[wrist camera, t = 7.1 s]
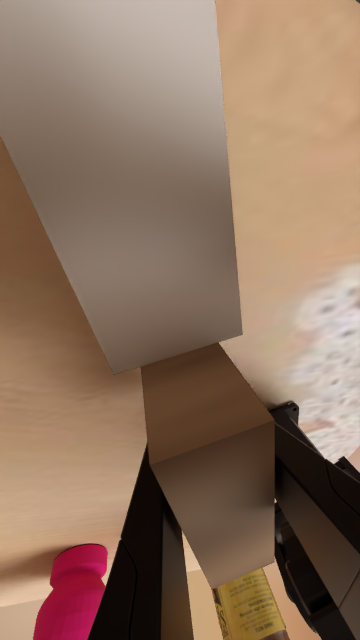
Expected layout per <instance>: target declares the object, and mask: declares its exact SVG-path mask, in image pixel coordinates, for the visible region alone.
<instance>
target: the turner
mask: <svg viewBox="0 0 360 640" xmlns="http://www.w3.org/2000/svg"><path fill="white" fill-rule="evenodd" d="M0 136H1V139H2V141H3V143H4V145H5V147H6V149H7V151H8V153H9V155H10V158H11V160H12V162H13V164H14V166H15V168H16V170H17V172H18V174H19V177H20V179H21V181H22V183H23V185H24V187H25V189H26V191H27V193H28V196H29V198H30V200H31V202H32V204H33V206H34V208H35V210H36V212H37V215H38V217H39V219H40V221H41V223H42V225H43V227H44V229H45V231H46V234H47V236H48V238H49V240H50V242H51V244H52V246H53V248H54V250H55V253H56V255H57V257H58V259H59V261H60V263H61V265H62V267H63V269H64V272H65V274H66V276H67V278H68V280H69V282H70V284H71V286H72V288H73V290H74V293H75V295H76V297H77V299H78V301H79V303H80V305H81V307H82V309H83V312H84V314H85V316H86V318H87V320H88V322H89V324H90V326H91V328H92V331H93V333H94V335H95V337H96V339H97V341H98V343H99V345H100V347H101V350H102V352H103V354H104V356H105V358H106V360H107V362H108V364H109V366H110V369H111V371H112V373H113V375H115V374H119V373H122V372H125V371H128V370H131V369H134V368H138V367H141V375H142V386H143V397H144V408H145V419H146V430H147V441H148V452H149V463H150V467H151V469H152V471H153V473H154V475H155V477H156V479H157V481H158V483H159V485H160V487H161V489H162V491H163V493H164V495H165V497H166V499H167V501H168V503H169V505H170V507H171V509H172V511H173V513H174V515H175V517H176V519H177V521H178V523H179V525H180V527H181V529H182V531H183V533H184V535H185V537H186V539H187V541H188V543H189V545H190V547H191V549H192V551H193V553H194V555H195V557H196V559H197V561H198V563H199V565H200V567H201V569H202V571H203V573H204V575H205V577H206V579H207V581H208V583H209V584H210V587H211V589H214V588H217V587H219V586H221V585H224V584H226V583H228V582H230V581H233V580H235V579H237V578H240V577H242V576H244V575H246V574H249V573H251V572H253V571H256V570H258V569H260V568H262V567H265V566H267V565H269V564H272V563H274V504H275V420H274V418H273V417H272V416H271V414H270V413H269V411H268V410H267V409H266V407H265V406H264V405H263V403H262V402H261V400H260V399H259V398H258V396H257V395H256V394H255V392H254V391H253V390H252V388H251V387H250V385H249V384H248V383H247V381H246V380H245V379H244V377H243V376H242V374H241V373H240V372H239V370H238V369H237V368H236V366H235V365H234V363H233V362H232V361H231V359H230V358H229V357H228V355H227V354H226V352H225V351H224V350H223V348H222V347H221V346H220V344H219V343H218V342H221V341H224V340H227V339H230V338H234V337H237V336H240V335H243V333H242V321H241V309H240V297H239V284H238V272H237V260H236V248H235V236H234V224H233V212H232V200H231V188H230V176H229V164H228V152H227V140H226V128H225V116H224V104H223V92H222V80H221V67H220V55H219V43H218V31H217V19H216V7H215V0H0Z"/></svg>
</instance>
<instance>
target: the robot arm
mask: <svg viewBox="0 0 360 640" xmlns="http://www.w3.org/2000/svg"><path fill="white" fill-rule="evenodd" d="M269 413H270V414H271V416H272V417H273V418H274V420H275V499H276V501H277V502H276V503H275V504H274V556H275V559H276V561H277V564H278V567H279V570H280V573H281V576H282V579H283V582H284V586H285V590H286V593H287V595H288V597H289V599H290V600H291V601H292V602H293V603H295V604H296V606H297V608H298V610H299V612H300V613H301V615H302V617H303V618H304V620H305V621H306V623H307V624H308V626H309V627H310V628H311V629H312V630H313V631H314V632H315V633H318V634H319V636H320V637H321V639H322V640H360V473H359V472H358V471H357V470H356V469H355V468H354V467H353V465H351V463H350V462H349V461H348V460H347V459H346V458H345V457H344V456H343V457H341V458H340V459H338V460H339V461H338V462H336V463H335V464H333V463H331V462H330V461H328V460H327V459H325V458H324V457H323V455H322V454H321V453H320V452H319V451H318V449H317V448H316V447H315V446H314V445H313V443H312V442H311V441H310V440H309V439H308V437H307V436H306V435H305V434H304V432H303V431H302V430H301V429H300V428H299V426H298V416H299V406H298V405H297V404H296V403H292V404H289V405H286V406H283V407H281V408H278V409H275V410H272V411H269ZM87 640H194V637H193V629H192V621H191V611H190V602H189V594H188V584H187V575H186V566H185V557H184V548H183V539H182V530H181V527H180V525H179V523H178V521H177V519H176V517H175V515H174V513H173V511H172V509H171V507H170V505H169V503H168V501H167V499H166V497H165V495H164V493H163V491H162V489H161V487H160V485H159V483H158V481H157V479H156V477H155V475H154V473H153V471H152V469H151V467H150V463H149V452H148V441H147V445H146V448H145V452H144V455H143V459H142V463H141V466H140V470H139V473H138V477H137V480H136V484H135V487H134V491H133V494H132V498H131V502H130V505H129V509H128V512H127V516H126V519H125V523H124V526H123V530H122V533H121V540H120V541H119V544H118V547H117V551H116V554H115V558H114V561H113V564H112V568H111V571H110V574H109V578H108V581H107V584H106V587H105V590H104V593H103V596H102V599H101V602H100V604H99V607H98V610H97V613H96V616H95V619H94V621H93V624H92V627H91V630H90V632H89V635H88V638H87Z"/></svg>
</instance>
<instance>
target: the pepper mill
mask: <svg viewBox="0 0 360 640" xmlns="http://www.w3.org/2000/svg"><path fill="white" fill-rule="evenodd" d="M107 554H108V553H107V550H106V548H104V547H103V546H100V545H95V544H89V545H81V546H76V547H74V548H71V549H68V550H66V551H64V552H63V553H61V554H60V555H59V556H58V557H57V558H56V559H55V561H54V564H53V569H52V573H51V578H50V585H51V586H52V587H53V588H54V589H53V590H52V592H51V593H50V594H49V596H48V597H47V599H46V600H45V601H44V603H43V604H42V606H41V608H40V610H39V612H38V615H37V619H36V625H35V630H34V636H33V640H87V638H88V635H89V632H90V630H91V627H92V624H93V621H94V619H95V616H96V613H97V610H98V607H99V604H100V602H101V599H102V596H103V593H104V590H105V585H104V583H103V582H102V580H101V578H102V577H103V576H104V574H105V573H106V569H107Z"/></svg>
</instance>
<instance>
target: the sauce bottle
mask: <svg viewBox="0 0 360 640" xmlns="http://www.w3.org/2000/svg"><path fill="white" fill-rule="evenodd" d="M212 593H213V598H214V602H215V607H216V611H217V615H218V619H219V624H220V628H221V631H222V636H223V640H290V639H289V637H288V634H287V632H286V626H285V623H284V621H283V618H282V616H281V613H280V611H279V608H278V605H277V603H276V601H275V598H274V595H273V593H272V590H271V588H270V585H269V583H268V580H267V578H266V575H265V572H264V570H263V567H262V568H260V569H258V570H256V571H253V572H251V573H249V574H246V575H244V576H242V577H240V578H237V579H235V580H233V581H230V582H228V583H226V584H224V585H221V586H219V587H217V588H214V589H212Z"/></svg>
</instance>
